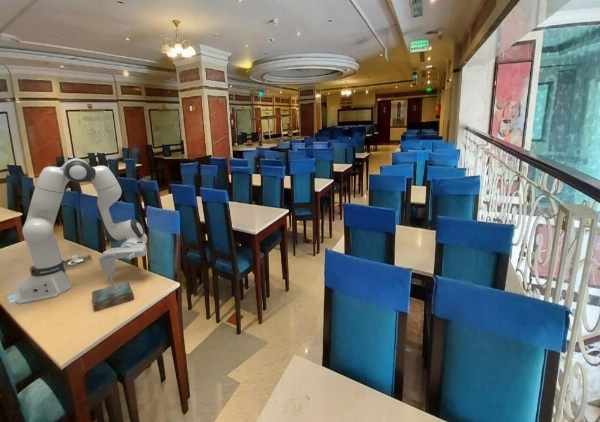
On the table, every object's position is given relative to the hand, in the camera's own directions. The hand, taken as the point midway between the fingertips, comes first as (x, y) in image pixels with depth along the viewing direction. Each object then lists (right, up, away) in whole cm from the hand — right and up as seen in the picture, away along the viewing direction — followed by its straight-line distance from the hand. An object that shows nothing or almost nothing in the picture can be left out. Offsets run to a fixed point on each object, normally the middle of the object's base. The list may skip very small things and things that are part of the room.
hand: (118, 258), depth 159 cm
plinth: (+2, -18, -7) cm, 19 cm away
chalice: (+3, -14, -8) cm, 17 cm away
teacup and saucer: (-48, -9, +34) cm, 59 cm away
